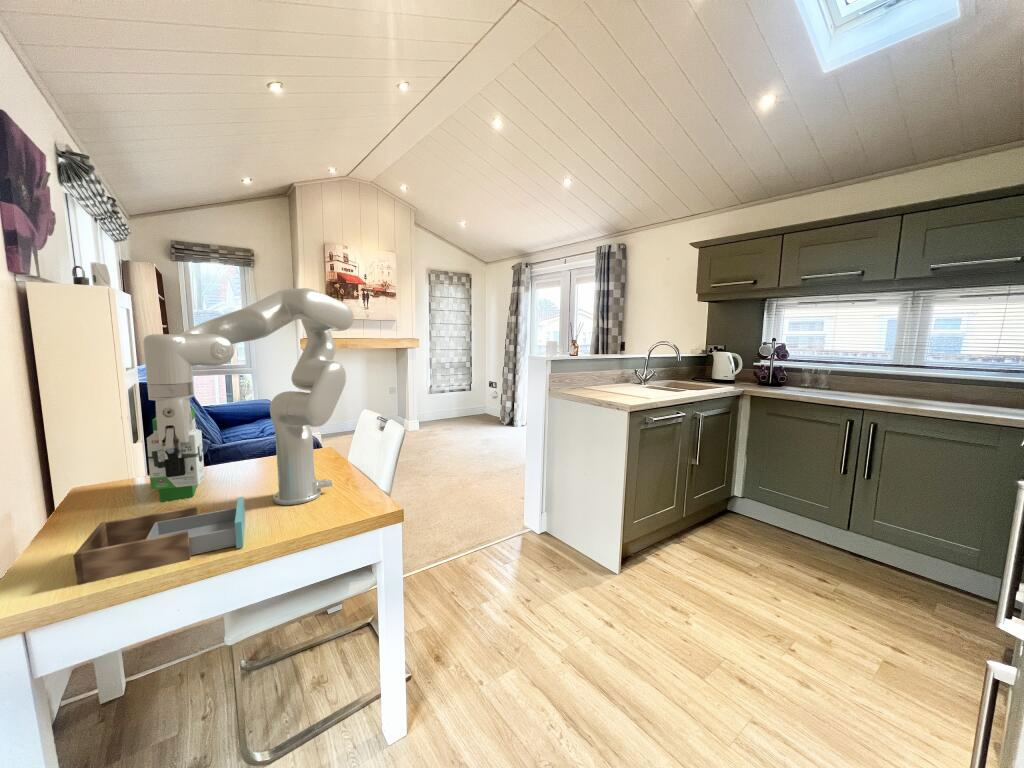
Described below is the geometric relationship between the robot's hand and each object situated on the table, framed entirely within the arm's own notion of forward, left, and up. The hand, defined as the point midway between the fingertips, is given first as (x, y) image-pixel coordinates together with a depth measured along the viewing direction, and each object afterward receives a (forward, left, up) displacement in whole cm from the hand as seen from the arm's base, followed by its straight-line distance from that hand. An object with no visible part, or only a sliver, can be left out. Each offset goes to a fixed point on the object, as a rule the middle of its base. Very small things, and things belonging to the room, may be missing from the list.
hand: (178, 471), depth 89 cm
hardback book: (+6, -42, -18) cm, 46 cm away
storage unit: (+6, 0, -18) cm, 19 cm away
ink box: (0, 0, -3) cm, 3 cm away
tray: (-2, 0, -18) cm, 18 cm away
